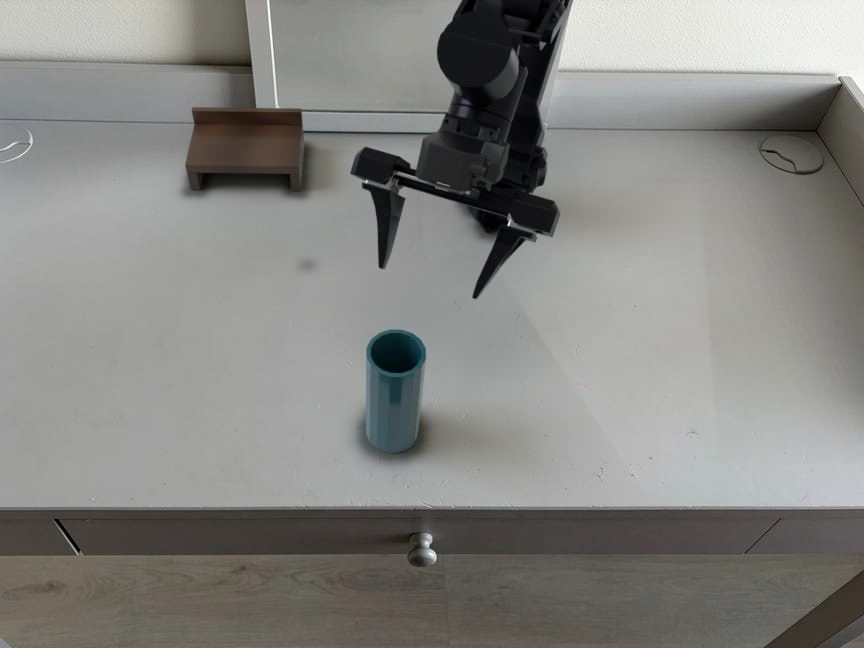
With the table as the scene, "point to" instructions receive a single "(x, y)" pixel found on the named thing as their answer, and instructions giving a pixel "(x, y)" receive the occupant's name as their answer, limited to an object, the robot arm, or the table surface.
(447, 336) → the table surface
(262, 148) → the shelf
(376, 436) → the teal cylindrical vase
